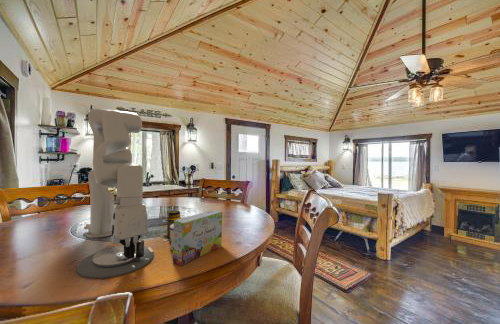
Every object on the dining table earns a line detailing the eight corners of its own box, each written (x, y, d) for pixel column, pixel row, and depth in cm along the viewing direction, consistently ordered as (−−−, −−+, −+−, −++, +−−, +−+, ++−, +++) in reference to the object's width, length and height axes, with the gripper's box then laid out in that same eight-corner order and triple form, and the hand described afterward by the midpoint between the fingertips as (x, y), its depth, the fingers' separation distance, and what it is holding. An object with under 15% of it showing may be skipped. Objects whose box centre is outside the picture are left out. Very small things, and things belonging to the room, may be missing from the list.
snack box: (182, 266, 74) (183, 222, 74) (171, 262, 77) (172, 220, 77) (222, 246, 92) (223, 210, 92) (212, 243, 95) (212, 209, 95)
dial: (81, 264, 72) (81, 244, 72) (118, 246, 86) (118, 230, 86) (125, 271, 68) (125, 250, 67) (157, 251, 82) (157, 234, 82)
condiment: (183, 238, 101) (183, 212, 101) (164, 241, 96) (164, 214, 96) (178, 233, 107) (179, 209, 107) (160, 236, 102) (160, 211, 102)
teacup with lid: (173, 242, 95) (173, 216, 94) (194, 243, 95) (194, 216, 95) (162, 254, 83) (163, 224, 82) (186, 255, 83) (187, 224, 83)
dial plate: (57, 275, 67) (57, 271, 67) (112, 246, 90) (112, 243, 90) (127, 280, 65) (127, 276, 65) (165, 249, 88) (165, 246, 88)
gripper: (110, 206, 63) (109, 269, 63) (157, 199, 76) (156, 252, 76) (99, 203, 68) (98, 262, 68) (145, 197, 80) (145, 247, 80)
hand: (129, 256), depth 72 cm, fingers closed
